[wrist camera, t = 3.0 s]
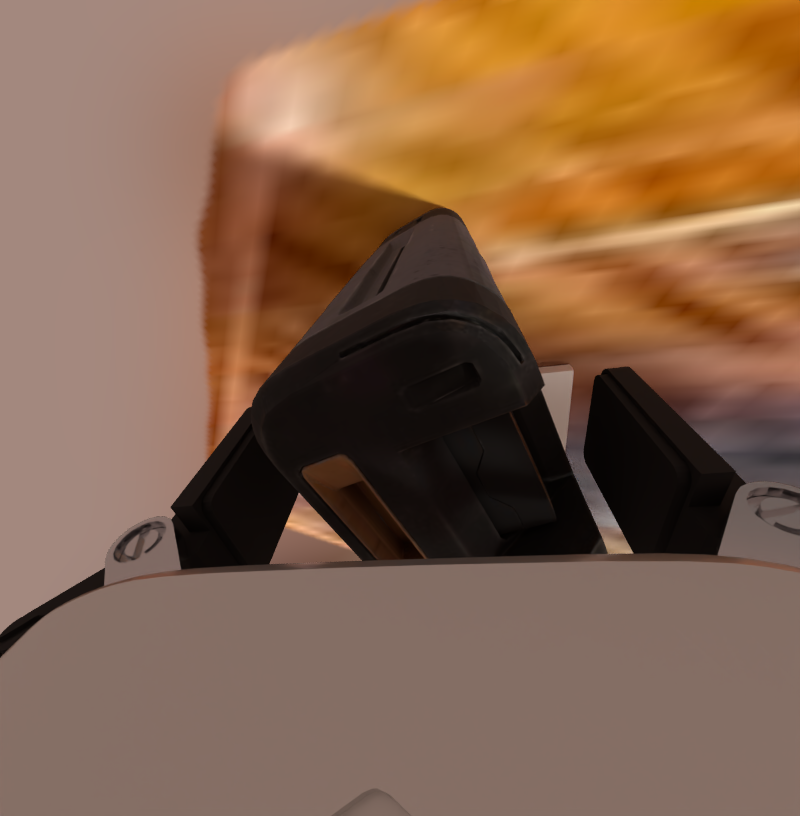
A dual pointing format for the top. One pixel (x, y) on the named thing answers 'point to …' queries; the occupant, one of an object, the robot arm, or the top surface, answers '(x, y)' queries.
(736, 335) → the top surface
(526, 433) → the electronic device
